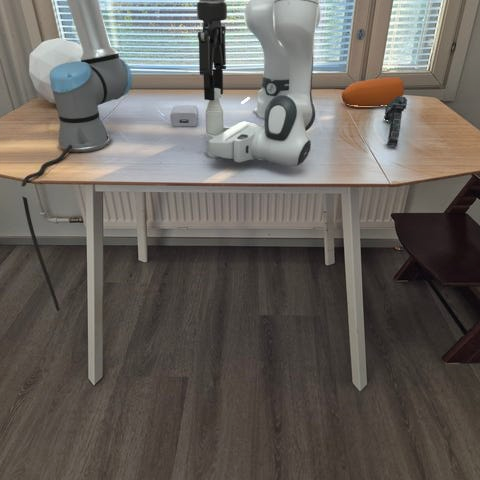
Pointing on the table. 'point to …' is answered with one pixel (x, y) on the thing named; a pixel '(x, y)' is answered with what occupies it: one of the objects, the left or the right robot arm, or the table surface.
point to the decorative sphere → (51, 62)
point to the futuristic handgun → (395, 118)
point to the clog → (373, 92)
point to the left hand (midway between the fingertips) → (213, 96)
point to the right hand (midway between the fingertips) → (212, 133)
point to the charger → (184, 116)
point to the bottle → (214, 120)
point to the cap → (217, 93)
